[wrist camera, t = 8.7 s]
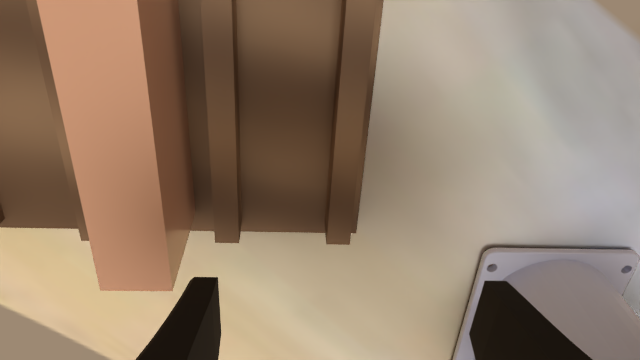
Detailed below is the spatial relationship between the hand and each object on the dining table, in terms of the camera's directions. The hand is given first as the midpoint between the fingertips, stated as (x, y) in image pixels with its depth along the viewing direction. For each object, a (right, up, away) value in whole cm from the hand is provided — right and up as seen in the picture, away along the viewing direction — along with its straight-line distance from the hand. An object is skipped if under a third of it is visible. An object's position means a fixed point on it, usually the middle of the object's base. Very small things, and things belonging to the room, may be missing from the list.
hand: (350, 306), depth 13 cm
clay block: (-7, +8, +5) cm, 12 cm away
